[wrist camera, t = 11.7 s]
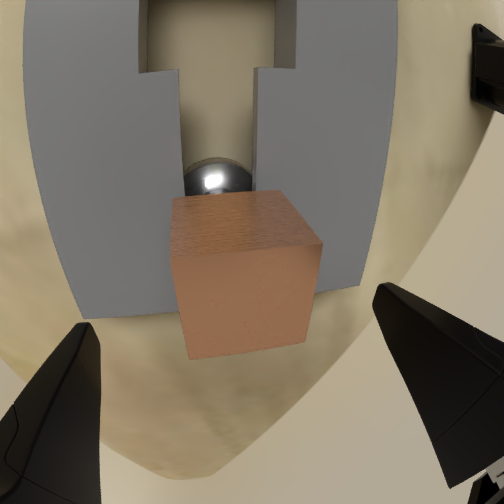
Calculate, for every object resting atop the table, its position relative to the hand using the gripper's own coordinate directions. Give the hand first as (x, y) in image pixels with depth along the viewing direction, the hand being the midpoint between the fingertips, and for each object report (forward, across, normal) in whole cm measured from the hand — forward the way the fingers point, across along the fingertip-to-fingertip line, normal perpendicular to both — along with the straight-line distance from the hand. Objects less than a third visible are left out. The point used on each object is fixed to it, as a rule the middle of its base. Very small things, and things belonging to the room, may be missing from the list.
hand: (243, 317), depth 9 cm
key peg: (+9, 0, 0) cm, 9 cm away
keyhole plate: (+9, 0, -4) cm, 9 cm away
